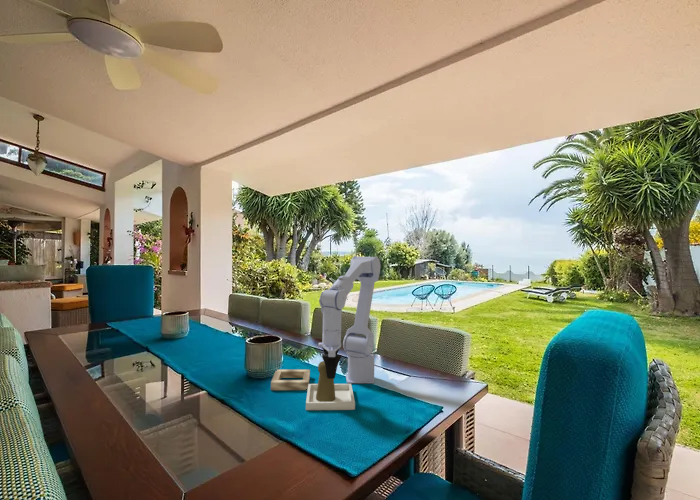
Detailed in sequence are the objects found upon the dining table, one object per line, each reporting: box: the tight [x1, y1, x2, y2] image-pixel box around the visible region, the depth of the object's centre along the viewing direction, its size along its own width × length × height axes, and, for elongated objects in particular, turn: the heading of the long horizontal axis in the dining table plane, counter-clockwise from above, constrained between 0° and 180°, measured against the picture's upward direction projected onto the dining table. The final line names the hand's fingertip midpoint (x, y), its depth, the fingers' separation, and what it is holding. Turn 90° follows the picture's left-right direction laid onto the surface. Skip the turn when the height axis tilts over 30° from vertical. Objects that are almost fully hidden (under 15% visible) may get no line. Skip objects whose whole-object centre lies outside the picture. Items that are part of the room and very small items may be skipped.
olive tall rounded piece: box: [316, 360, 336, 402], centre depth 103 cm, size 6×6×11 cm
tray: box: [305, 383, 356, 411], centre depth 103 cm, size 14×14×2 cm
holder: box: [270, 369, 311, 391], centre depth 115 cm, size 12×12×2 cm
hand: (330, 373), depth 103 cm, fingers open, 7 cm apart
